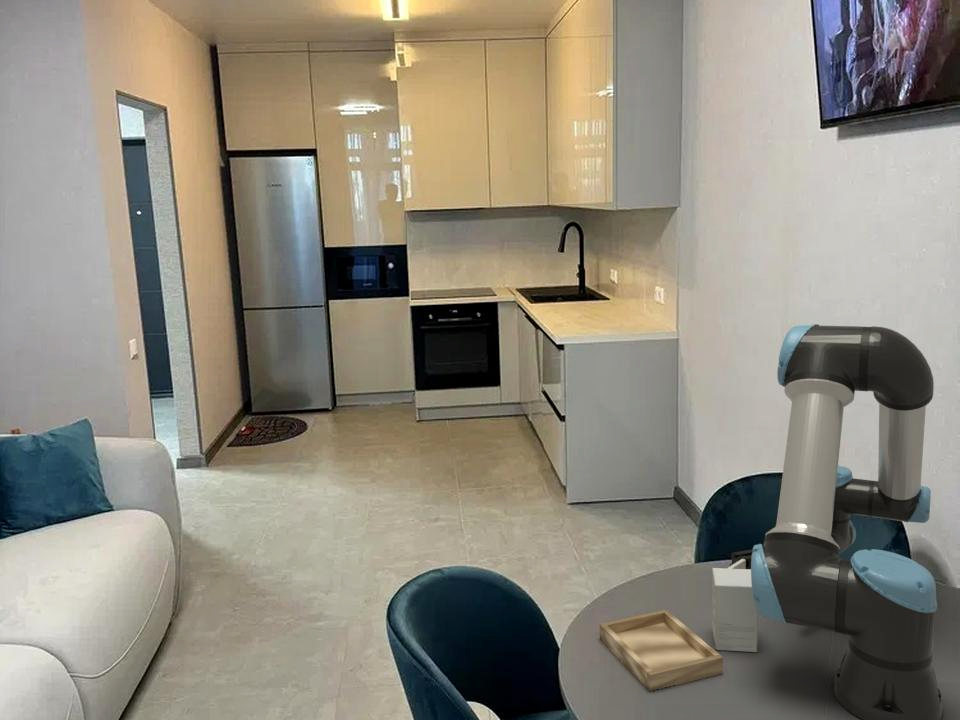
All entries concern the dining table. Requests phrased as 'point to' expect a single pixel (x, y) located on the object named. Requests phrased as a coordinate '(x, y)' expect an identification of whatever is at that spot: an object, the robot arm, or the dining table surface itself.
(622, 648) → the tray
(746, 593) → the supplement box
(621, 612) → the dining table surface
